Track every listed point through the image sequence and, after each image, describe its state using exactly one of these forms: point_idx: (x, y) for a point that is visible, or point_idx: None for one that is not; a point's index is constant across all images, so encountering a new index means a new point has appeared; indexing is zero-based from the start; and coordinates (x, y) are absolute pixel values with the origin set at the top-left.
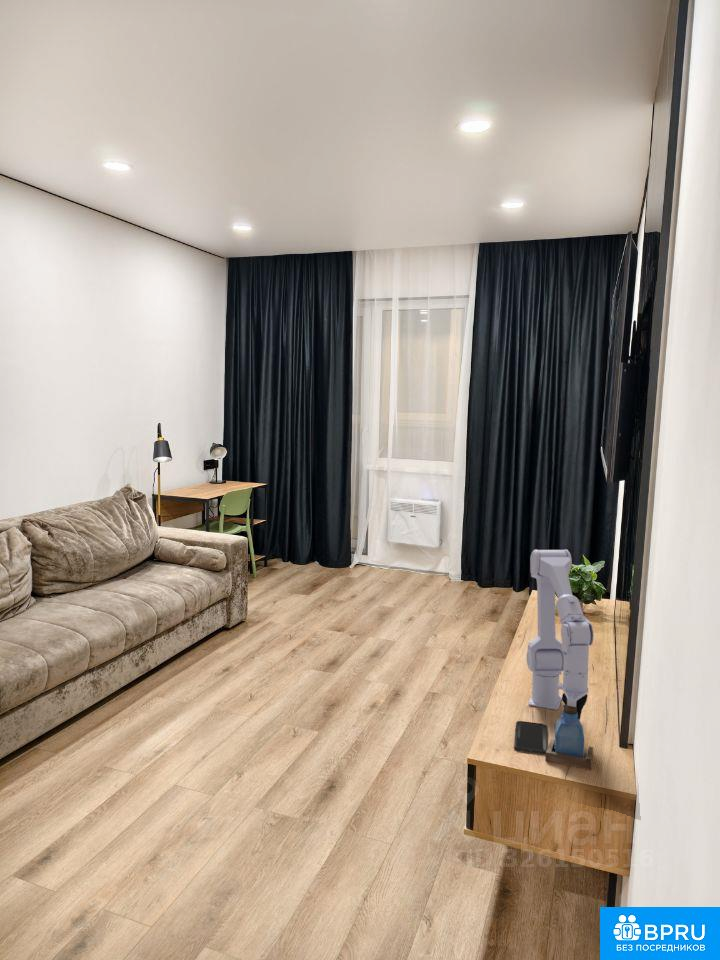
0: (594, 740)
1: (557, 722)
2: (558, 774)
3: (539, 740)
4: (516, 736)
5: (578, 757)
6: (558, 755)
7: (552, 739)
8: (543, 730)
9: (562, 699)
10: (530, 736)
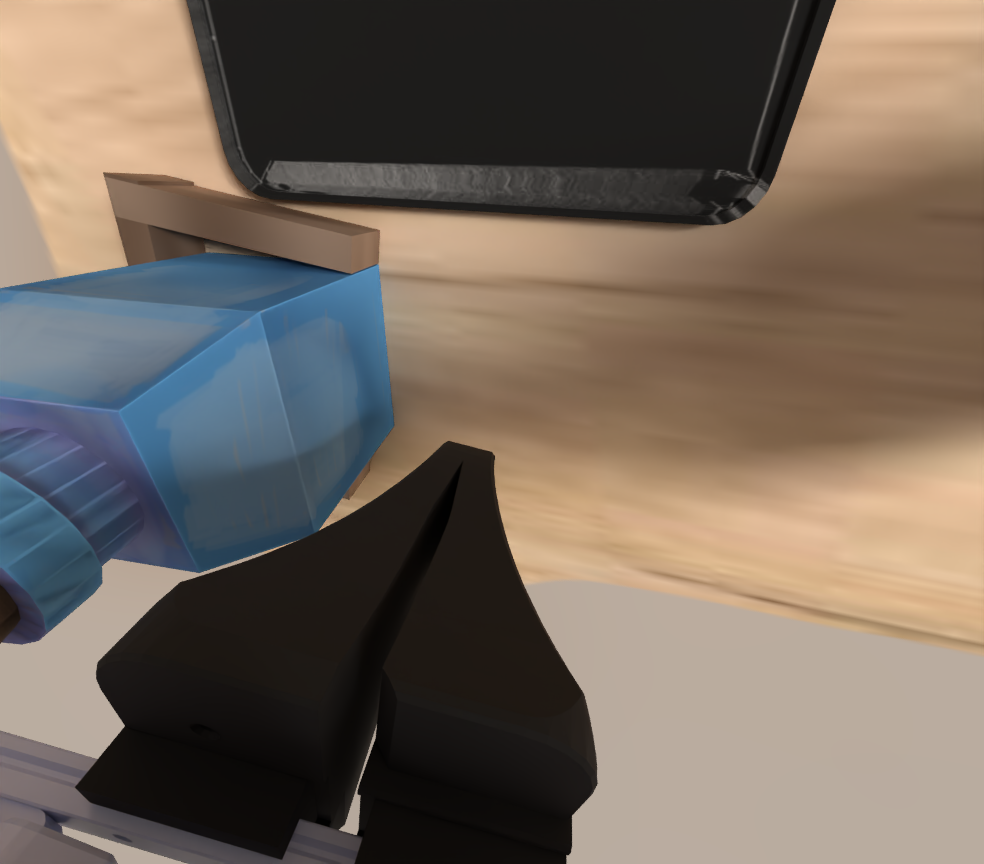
0: (545, 508)
1: (165, 338)
2: (62, 257)
3: (412, 127)
4: None
5: None
6: None
7: (346, 252)
8: (626, 180)
9: (170, 602)
10: (472, 15)
